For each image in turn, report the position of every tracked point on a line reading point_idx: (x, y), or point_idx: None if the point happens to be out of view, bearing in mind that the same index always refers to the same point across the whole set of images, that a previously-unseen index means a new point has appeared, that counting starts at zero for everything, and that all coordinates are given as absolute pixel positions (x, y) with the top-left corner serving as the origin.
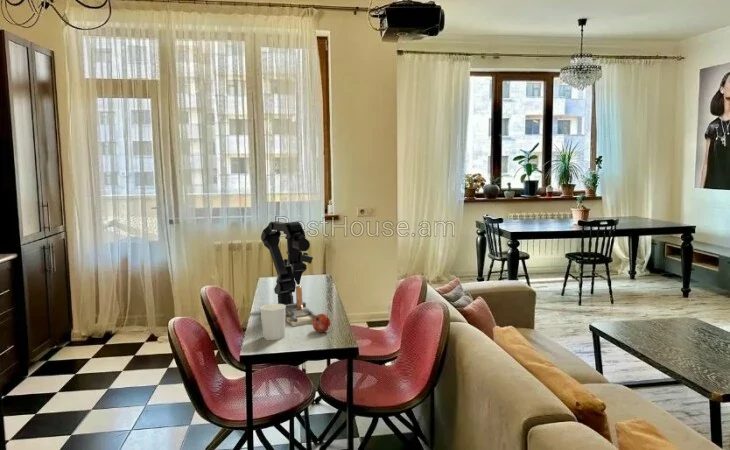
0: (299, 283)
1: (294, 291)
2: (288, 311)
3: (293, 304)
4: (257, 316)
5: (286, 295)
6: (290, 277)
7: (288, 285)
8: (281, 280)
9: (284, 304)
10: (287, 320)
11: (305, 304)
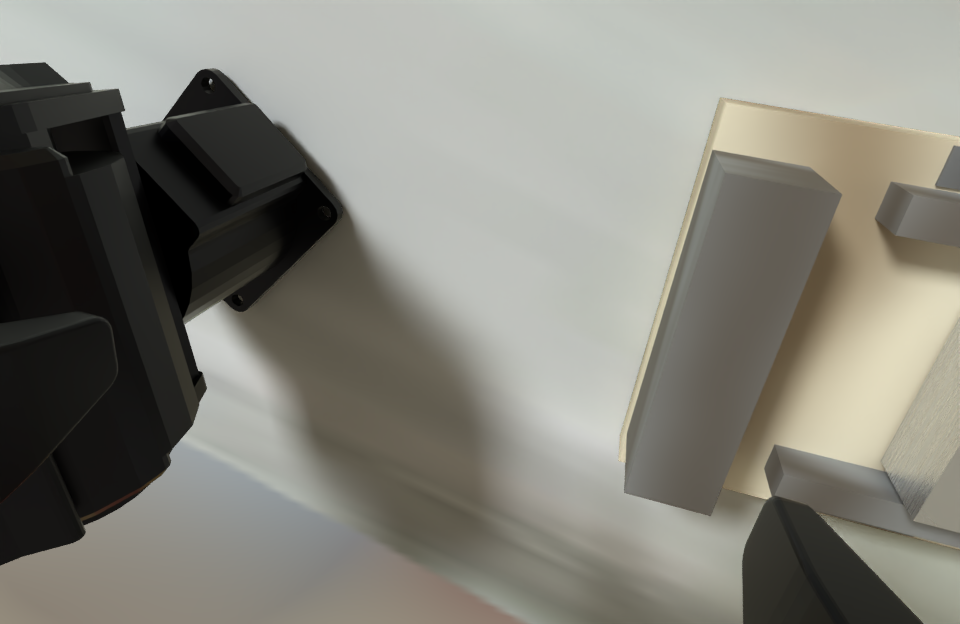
0: (824, 532)
1: (116, 98)
2: (843, 503)
3: (717, 385)
4: (489, 589)
5: (209, 264)
6: (13, 484)
7: (127, 341)
8: (12, 550)
9: (282, 251)
10: None
11: (832, 192)
